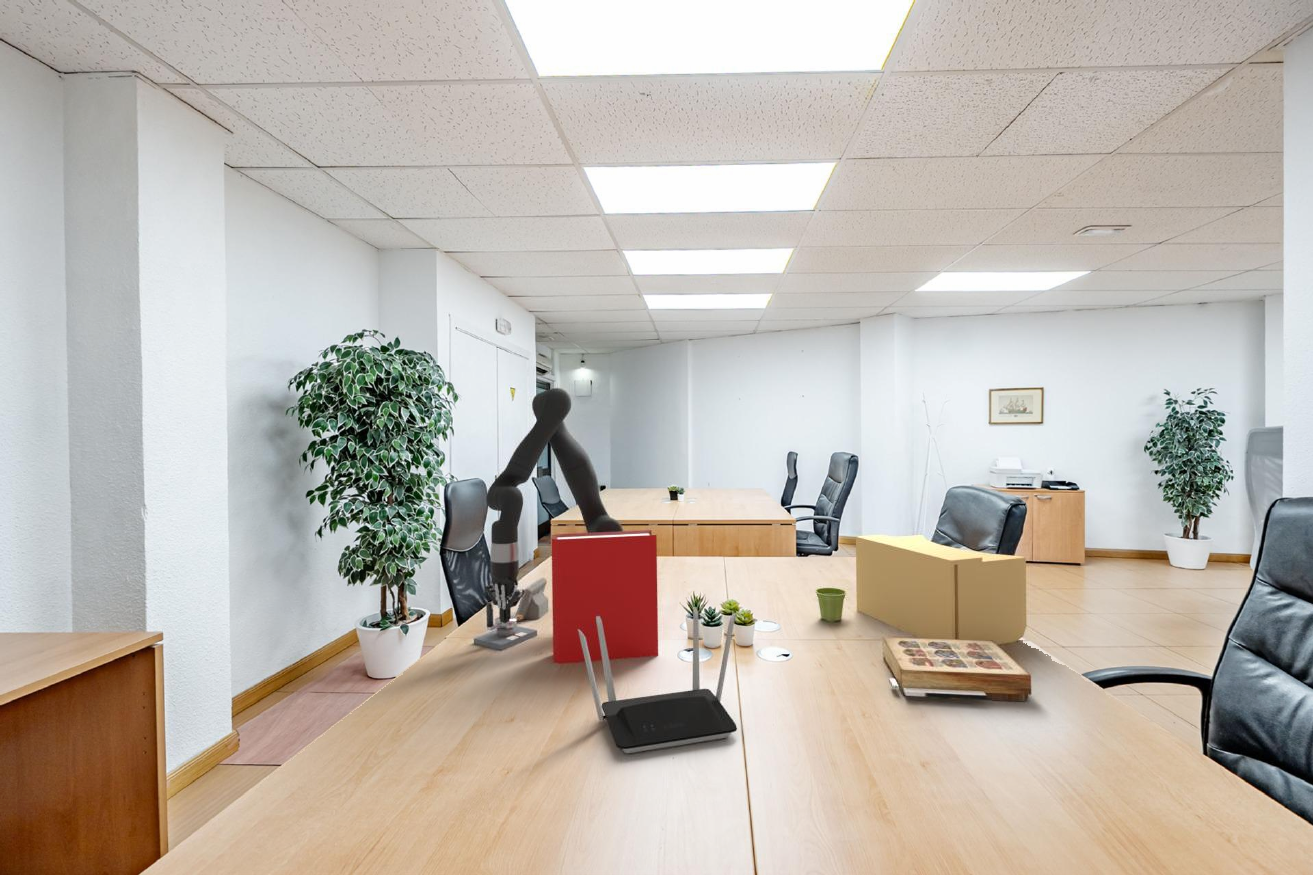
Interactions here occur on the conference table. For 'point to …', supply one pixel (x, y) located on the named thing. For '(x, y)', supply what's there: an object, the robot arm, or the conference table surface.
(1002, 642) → the cardboard box
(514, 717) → the conference table surface
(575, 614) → the book
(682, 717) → the wireless router
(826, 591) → the plant pot
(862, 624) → the conference table surface
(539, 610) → the digital clock
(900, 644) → the flat wooden box
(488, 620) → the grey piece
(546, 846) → the conference table surface
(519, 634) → the stand
